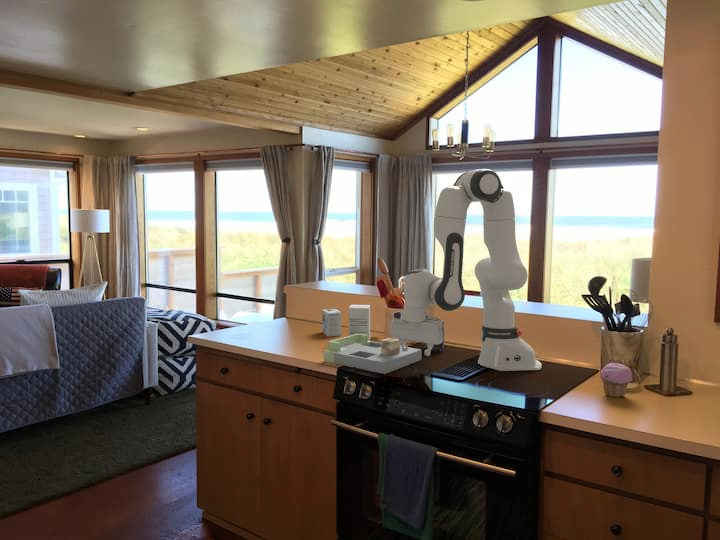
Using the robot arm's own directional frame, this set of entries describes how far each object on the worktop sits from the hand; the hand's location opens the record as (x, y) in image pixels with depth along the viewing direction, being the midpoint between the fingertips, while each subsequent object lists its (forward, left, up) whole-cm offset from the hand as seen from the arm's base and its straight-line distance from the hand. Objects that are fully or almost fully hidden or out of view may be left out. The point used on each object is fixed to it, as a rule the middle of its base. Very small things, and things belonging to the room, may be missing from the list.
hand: (415, 353), depth 203 cm
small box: (-8, -32, -6) cm, 33 cm away
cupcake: (-61, +23, -6) cm, 65 cm away
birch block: (+9, -6, -2) cm, 11 cm away
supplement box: (+25, -45, -6) cm, 52 cm away
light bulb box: (+39, -56, -6) cm, 68 cm away
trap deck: (+16, -10, -6) cm, 20 cm away
